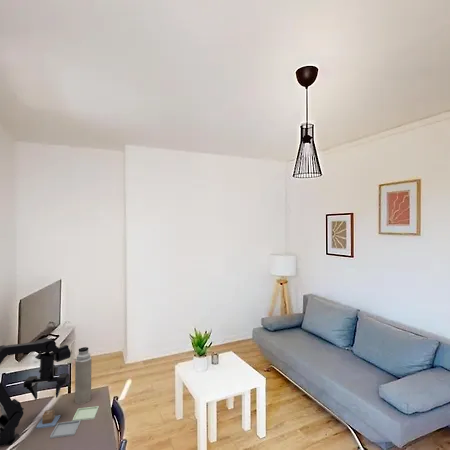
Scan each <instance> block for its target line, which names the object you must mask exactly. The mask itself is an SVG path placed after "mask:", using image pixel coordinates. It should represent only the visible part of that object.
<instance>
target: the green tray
mask: <svg viewBox="0 0 450 450" xmlns="http://www.w3.org/2000/svg"><path fill="white" fill-rule="evenodd" d="M99 407H100V406H99V405H96V406H89V407H87V406H86V407H79V408H77V410H76V412H75V414H74V416H73V417H72V420H71V421H78V420H81V421H89V420H95V419H96V416H97V414H98V411H99Z"/></svg>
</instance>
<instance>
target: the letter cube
mask: <svg viewBox="0 0 450 450" xmlns="http://www.w3.org/2000/svg"><path fill="white" fill-rule="evenodd" d="M55 412H56V411H55V409H49V410H45V411H44V413H43V414H42V417H41V419H42V424H47V423H52V422H53V420H54V418H55V416H56V415H55Z"/></svg>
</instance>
